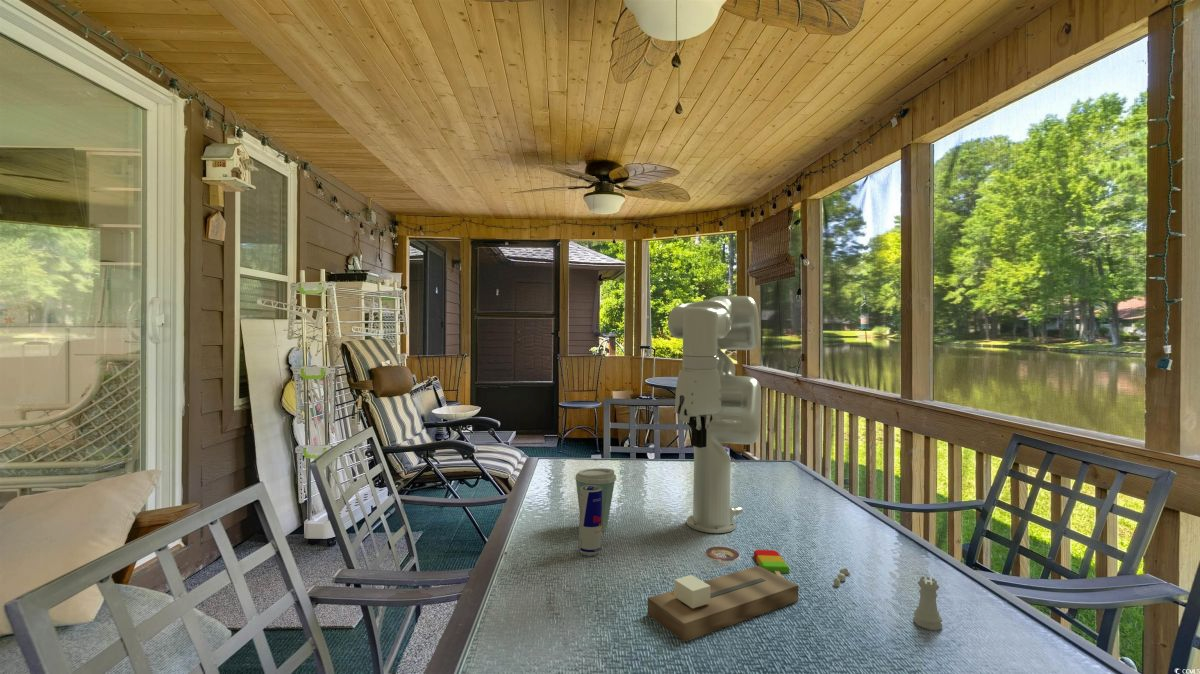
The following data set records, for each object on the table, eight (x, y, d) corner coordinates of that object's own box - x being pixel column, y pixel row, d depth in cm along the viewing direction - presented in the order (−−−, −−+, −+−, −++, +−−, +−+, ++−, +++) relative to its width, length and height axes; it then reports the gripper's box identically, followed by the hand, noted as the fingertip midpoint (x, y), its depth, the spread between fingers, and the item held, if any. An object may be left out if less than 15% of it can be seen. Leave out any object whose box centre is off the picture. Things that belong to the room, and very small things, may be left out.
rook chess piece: (907, 618, 98) (908, 574, 98) (930, 617, 99) (931, 573, 99) (924, 632, 94) (925, 585, 94) (948, 631, 94) (949, 584, 94)
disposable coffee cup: (567, 531, 138) (568, 472, 138) (584, 518, 148) (585, 463, 148) (606, 538, 134) (607, 477, 134) (621, 524, 144) (622, 467, 144)
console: (757, 580, 113) (758, 565, 113) (798, 601, 104) (798, 584, 104) (647, 614, 98) (647, 597, 98) (683, 641, 90) (684, 623, 90)
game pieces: (840, 573, 117) (840, 564, 117) (851, 576, 116) (851, 567, 116) (829, 586, 111) (829, 576, 111) (840, 589, 110) (840, 580, 110)
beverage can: (598, 557, 123) (599, 491, 122) (576, 555, 124) (577, 489, 123) (603, 549, 127) (604, 484, 127) (581, 547, 129) (582, 483, 128)
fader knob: (691, 591, 100) (691, 574, 100) (710, 602, 96) (710, 585, 96) (674, 596, 98) (674, 579, 98) (692, 608, 94) (692, 591, 94)
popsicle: (776, 557, 126) (776, 549, 126) (798, 588, 111) (798, 579, 111) (752, 556, 126) (752, 548, 126) (770, 587, 111) (770, 578, 111)
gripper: (712, 360, 128) (711, 438, 129) (662, 364, 120) (661, 447, 121) (736, 363, 121) (735, 445, 122) (685, 367, 113) (684, 454, 114)
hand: (698, 446), depth 121 cm, fingers closed
